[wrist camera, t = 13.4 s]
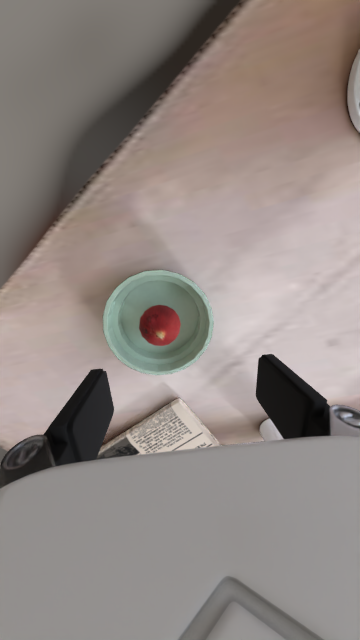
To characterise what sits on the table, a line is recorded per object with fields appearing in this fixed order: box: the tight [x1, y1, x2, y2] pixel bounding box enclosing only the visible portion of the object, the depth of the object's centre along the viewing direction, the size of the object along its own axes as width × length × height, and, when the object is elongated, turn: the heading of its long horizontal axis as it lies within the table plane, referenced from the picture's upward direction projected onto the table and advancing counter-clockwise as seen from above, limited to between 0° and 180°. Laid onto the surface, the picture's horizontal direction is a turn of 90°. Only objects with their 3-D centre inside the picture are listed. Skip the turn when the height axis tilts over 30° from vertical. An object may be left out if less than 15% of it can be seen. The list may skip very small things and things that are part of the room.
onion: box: [139, 305, 181, 346], centre depth 25 cm, size 6×6×8 cm
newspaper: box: [96, 398, 221, 460], centre depth 37 cm, size 37×19×3 cm, turn 125°
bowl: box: [103, 270, 214, 375], centre depth 27 cm, size 15×15×5 cm
